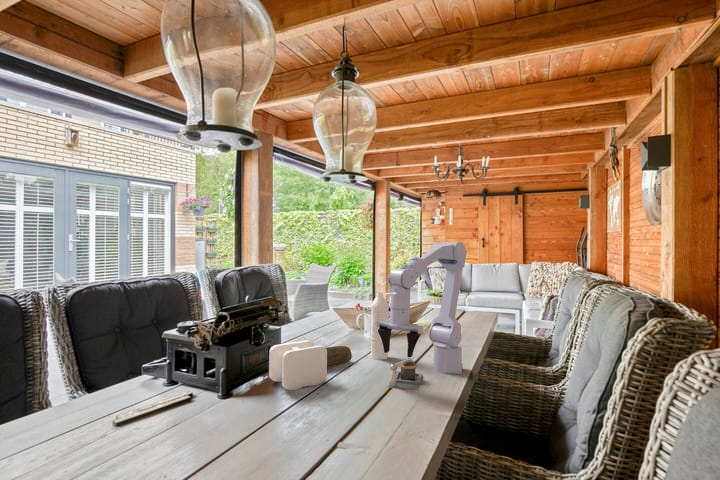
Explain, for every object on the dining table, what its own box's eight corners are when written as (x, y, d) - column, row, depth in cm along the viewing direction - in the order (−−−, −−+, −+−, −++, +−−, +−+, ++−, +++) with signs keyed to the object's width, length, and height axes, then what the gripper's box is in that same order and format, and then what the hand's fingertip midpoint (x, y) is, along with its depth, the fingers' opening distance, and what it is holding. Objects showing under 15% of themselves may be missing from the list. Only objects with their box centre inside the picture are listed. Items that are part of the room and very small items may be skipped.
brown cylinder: (319, 373, 124) (319, 353, 124) (307, 367, 130) (308, 348, 130) (353, 363, 134) (354, 345, 134) (341, 359, 140) (341, 341, 140)
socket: (422, 376, 122) (422, 358, 122) (418, 393, 108) (418, 372, 108) (394, 373, 124) (394, 356, 124) (387, 390, 110) (387, 370, 110)
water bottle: (367, 358, 140) (367, 291, 140) (379, 355, 144) (380, 290, 144) (383, 364, 133) (384, 294, 134) (396, 360, 138) (396, 293, 138)
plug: (416, 376, 119) (416, 361, 119) (414, 382, 115) (415, 366, 115) (401, 375, 120) (401, 359, 120) (399, 380, 116) (399, 364, 116)
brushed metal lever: (394, 369, 110) (394, 366, 110) (389, 368, 111) (389, 364, 111) (412, 361, 118) (412, 358, 118) (407, 360, 119) (407, 357, 119)
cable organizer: (281, 394, 107) (281, 353, 107) (268, 382, 116) (268, 344, 116) (327, 383, 115) (327, 345, 116) (311, 373, 124) (312, 338, 124)
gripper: (372, 307, 112) (370, 352, 112) (417, 313, 105) (415, 361, 104) (383, 305, 118) (381, 348, 118) (426, 310, 111) (424, 356, 110)
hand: (398, 354), depth 112 cm, fingers open, 7 cm apart
